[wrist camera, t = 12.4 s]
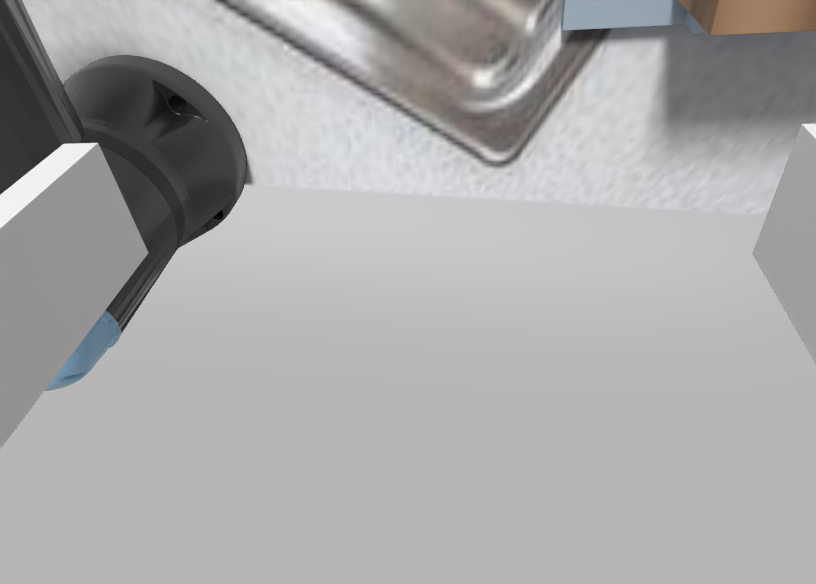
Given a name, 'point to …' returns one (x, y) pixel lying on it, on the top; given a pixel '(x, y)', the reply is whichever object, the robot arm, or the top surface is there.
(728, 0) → the walnut frame
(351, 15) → the top surface
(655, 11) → the picture ledge
